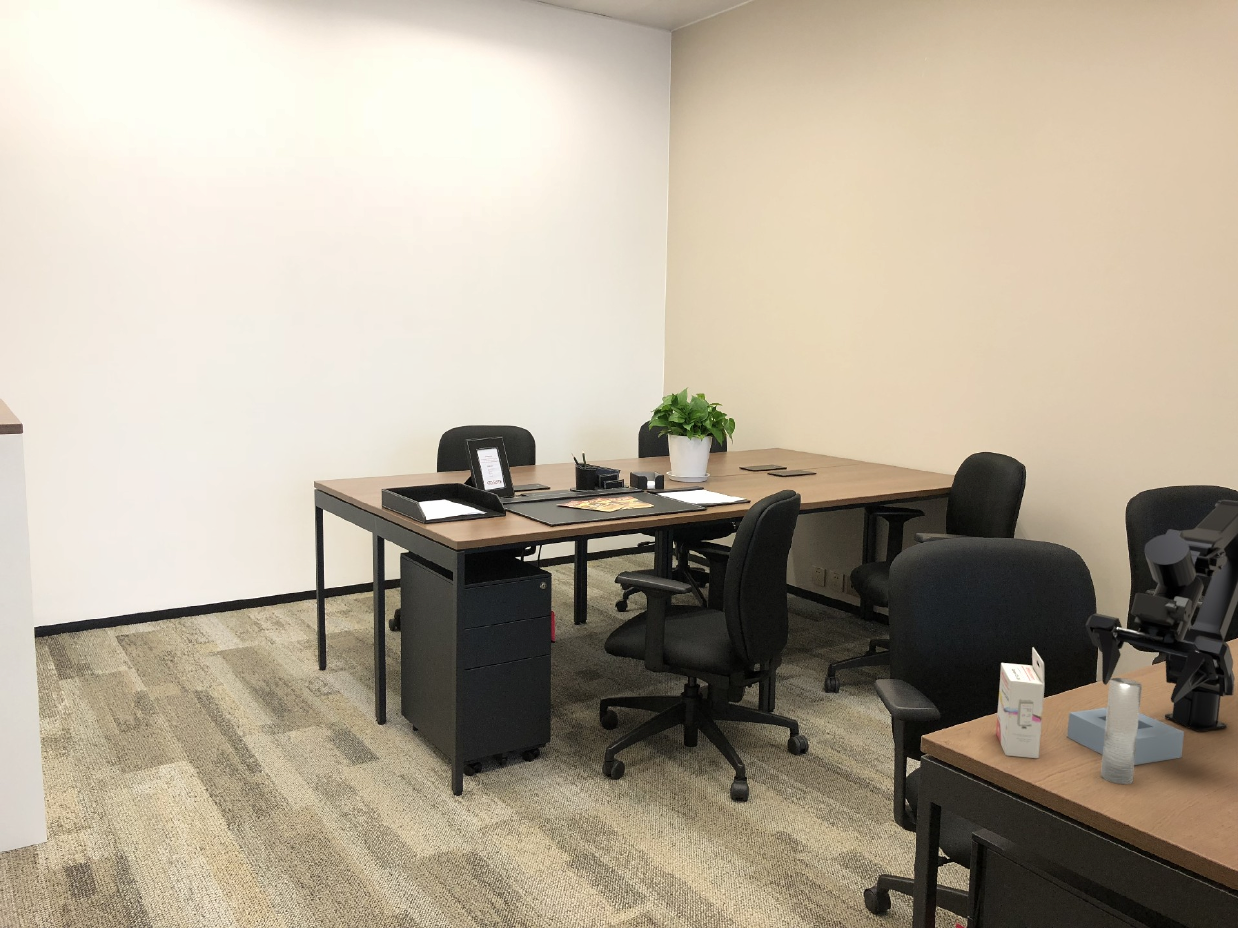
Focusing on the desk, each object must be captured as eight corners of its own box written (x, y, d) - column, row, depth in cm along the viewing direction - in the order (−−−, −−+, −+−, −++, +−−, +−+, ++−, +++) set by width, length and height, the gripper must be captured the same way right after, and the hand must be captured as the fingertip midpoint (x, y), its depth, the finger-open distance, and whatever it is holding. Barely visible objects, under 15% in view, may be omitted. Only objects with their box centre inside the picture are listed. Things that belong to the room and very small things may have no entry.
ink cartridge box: (993, 733, 151) (1001, 643, 149) (1027, 737, 150) (1035, 645, 148) (1004, 756, 142) (1011, 660, 140) (1039, 759, 141) (1048, 663, 139)
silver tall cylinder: (1115, 770, 138) (1124, 676, 137) (1139, 782, 135) (1148, 686, 133) (1094, 773, 137) (1103, 679, 135) (1117, 785, 133) (1126, 688, 132)
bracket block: (1120, 729, 154) (1122, 705, 153) (1181, 757, 144) (1184, 731, 143) (1067, 736, 150) (1069, 712, 149) (1125, 766, 140) (1128, 740, 139)
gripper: (1096, 561, 146) (1058, 644, 140) (1235, 586, 132) (1200, 679, 126) (1112, 603, 152) (1076, 685, 146) (1247, 631, 139) (1213, 722, 133)
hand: (1137, 691), depth 138 cm, fingers open, 9 cm apart
